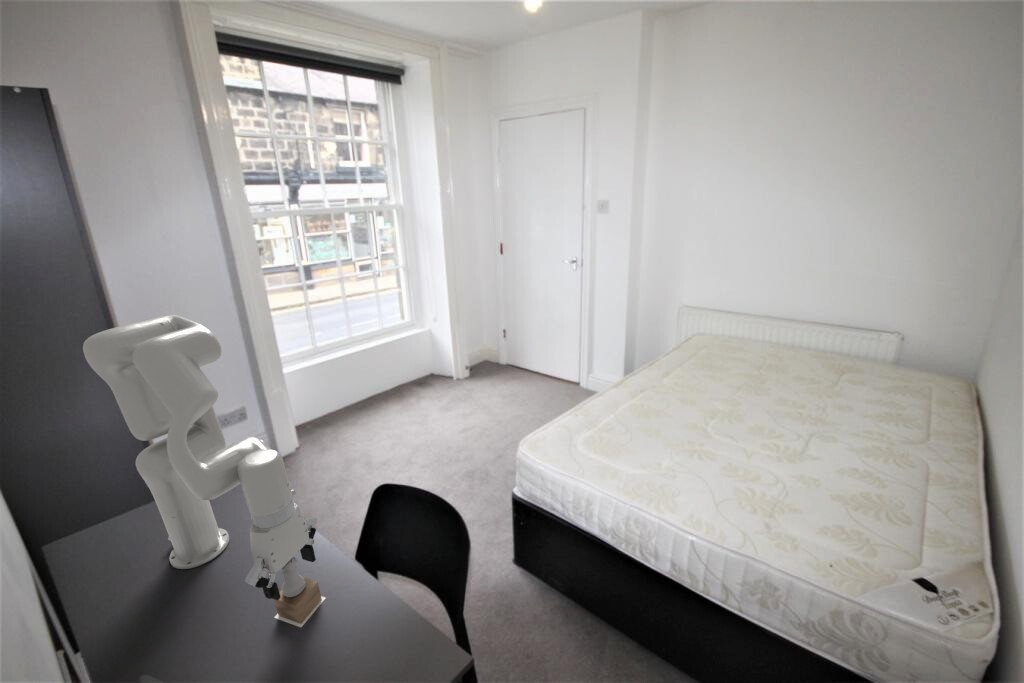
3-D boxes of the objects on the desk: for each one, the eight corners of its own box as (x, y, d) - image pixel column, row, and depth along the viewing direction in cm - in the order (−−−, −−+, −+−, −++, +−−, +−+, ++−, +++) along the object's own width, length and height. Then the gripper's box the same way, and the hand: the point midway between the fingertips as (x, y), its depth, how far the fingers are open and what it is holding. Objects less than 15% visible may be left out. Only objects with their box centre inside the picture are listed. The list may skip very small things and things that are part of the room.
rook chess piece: (297, 600, 92) (289, 569, 89) (278, 596, 93) (269, 566, 90) (310, 582, 96) (303, 552, 93) (292, 579, 97) (284, 549, 94)
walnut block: (278, 615, 94) (273, 598, 93) (300, 592, 100) (295, 575, 98) (301, 623, 92) (296, 606, 91) (321, 599, 98) (317, 581, 96)
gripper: (292, 480, 96) (308, 543, 102) (218, 539, 81) (242, 608, 87) (320, 486, 94) (335, 550, 100) (250, 548, 78) (272, 619, 84)
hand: (292, 577), depth 93 cm, fingers open, 9 cm apart
